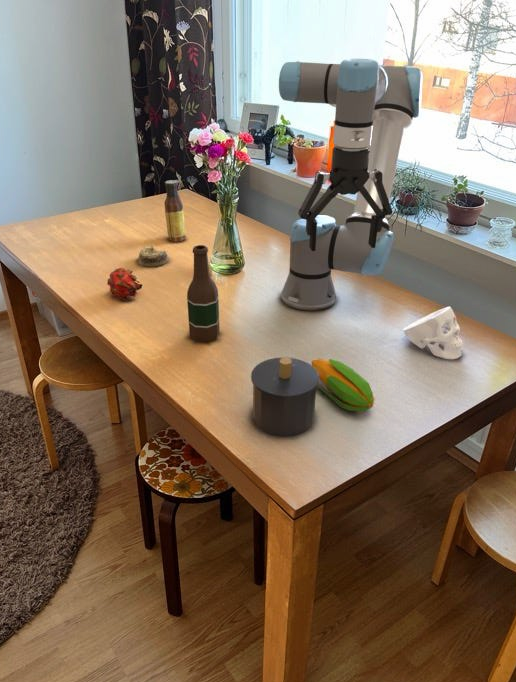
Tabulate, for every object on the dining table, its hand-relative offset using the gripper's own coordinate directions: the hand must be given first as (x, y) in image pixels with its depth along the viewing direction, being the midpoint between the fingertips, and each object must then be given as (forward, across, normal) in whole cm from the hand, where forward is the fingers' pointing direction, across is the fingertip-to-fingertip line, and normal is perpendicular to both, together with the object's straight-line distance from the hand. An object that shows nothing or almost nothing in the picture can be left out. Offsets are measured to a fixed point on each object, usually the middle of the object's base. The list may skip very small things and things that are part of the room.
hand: (342, 247), depth 130 cm
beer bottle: (+27, -31, +11) cm, 42 cm away
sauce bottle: (+27, -36, +79) cm, 91 cm away
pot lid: (+17, -17, -25) cm, 35 cm away
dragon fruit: (+27, -52, +37) cm, 69 cm away
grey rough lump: (+27, -44, +61) cm, 80 cm away
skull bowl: (+27, +25, -2) cm, 37 cm away
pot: (+27, -17, -25) cm, 40 cm away
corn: (+27, -4, -19) cm, 33 cm away
